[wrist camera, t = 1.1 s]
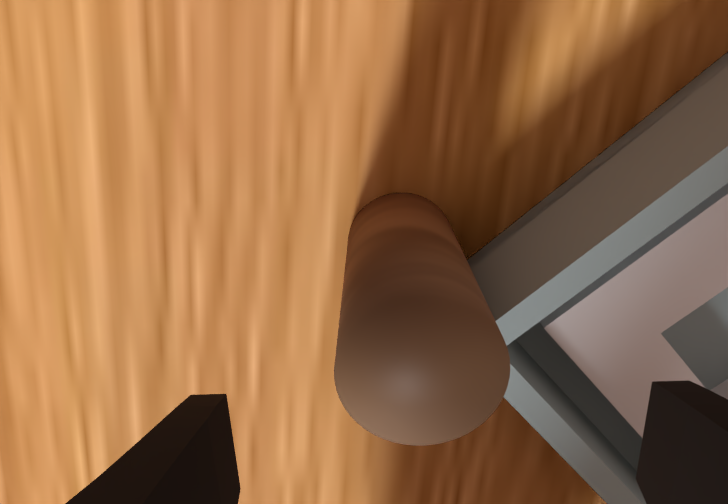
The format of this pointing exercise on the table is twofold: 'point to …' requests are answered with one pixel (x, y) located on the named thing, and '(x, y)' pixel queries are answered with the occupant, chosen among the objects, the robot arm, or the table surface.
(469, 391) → the peg
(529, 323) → the bore box
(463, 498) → the table surface
